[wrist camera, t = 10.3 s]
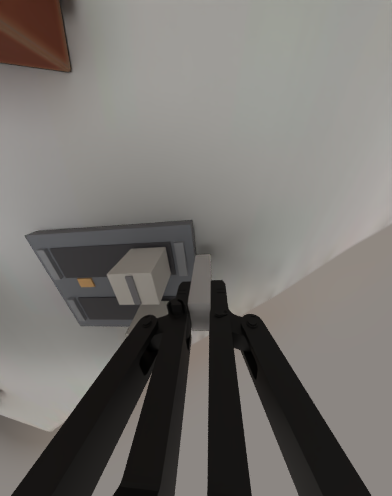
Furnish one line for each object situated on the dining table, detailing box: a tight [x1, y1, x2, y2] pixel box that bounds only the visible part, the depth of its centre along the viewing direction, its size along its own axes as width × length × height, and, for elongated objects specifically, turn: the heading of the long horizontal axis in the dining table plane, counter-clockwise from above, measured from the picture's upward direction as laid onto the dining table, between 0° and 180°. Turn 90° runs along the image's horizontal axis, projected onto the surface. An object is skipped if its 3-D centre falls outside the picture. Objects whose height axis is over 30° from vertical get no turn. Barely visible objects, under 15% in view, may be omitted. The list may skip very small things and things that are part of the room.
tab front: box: [107, 247, 171, 305], centre depth 17 cm, size 4×4×5 cm
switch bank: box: [25, 220, 196, 326], centre depth 22 cm, size 20×16×2 cm
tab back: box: [126, 301, 169, 336], centre depth 20 cm, size 4×4×5 cm
